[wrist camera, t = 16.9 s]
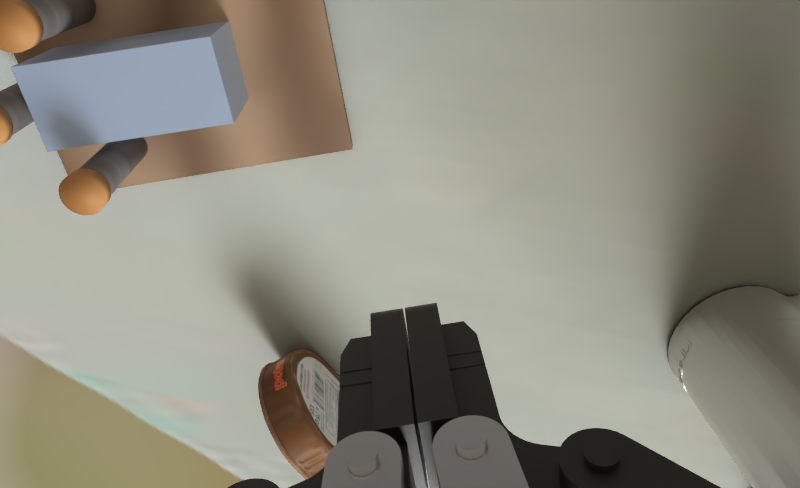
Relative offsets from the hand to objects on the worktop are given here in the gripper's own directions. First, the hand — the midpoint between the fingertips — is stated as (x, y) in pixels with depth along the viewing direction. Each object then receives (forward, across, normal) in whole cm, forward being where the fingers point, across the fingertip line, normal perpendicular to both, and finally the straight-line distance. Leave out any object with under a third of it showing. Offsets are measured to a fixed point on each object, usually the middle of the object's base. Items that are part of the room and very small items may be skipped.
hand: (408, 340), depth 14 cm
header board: (+23, +10, -3) cm, 25 cm away
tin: (+23, +6, +22) cm, 33 cm away
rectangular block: (+22, +12, -3) cm, 25 cm away
